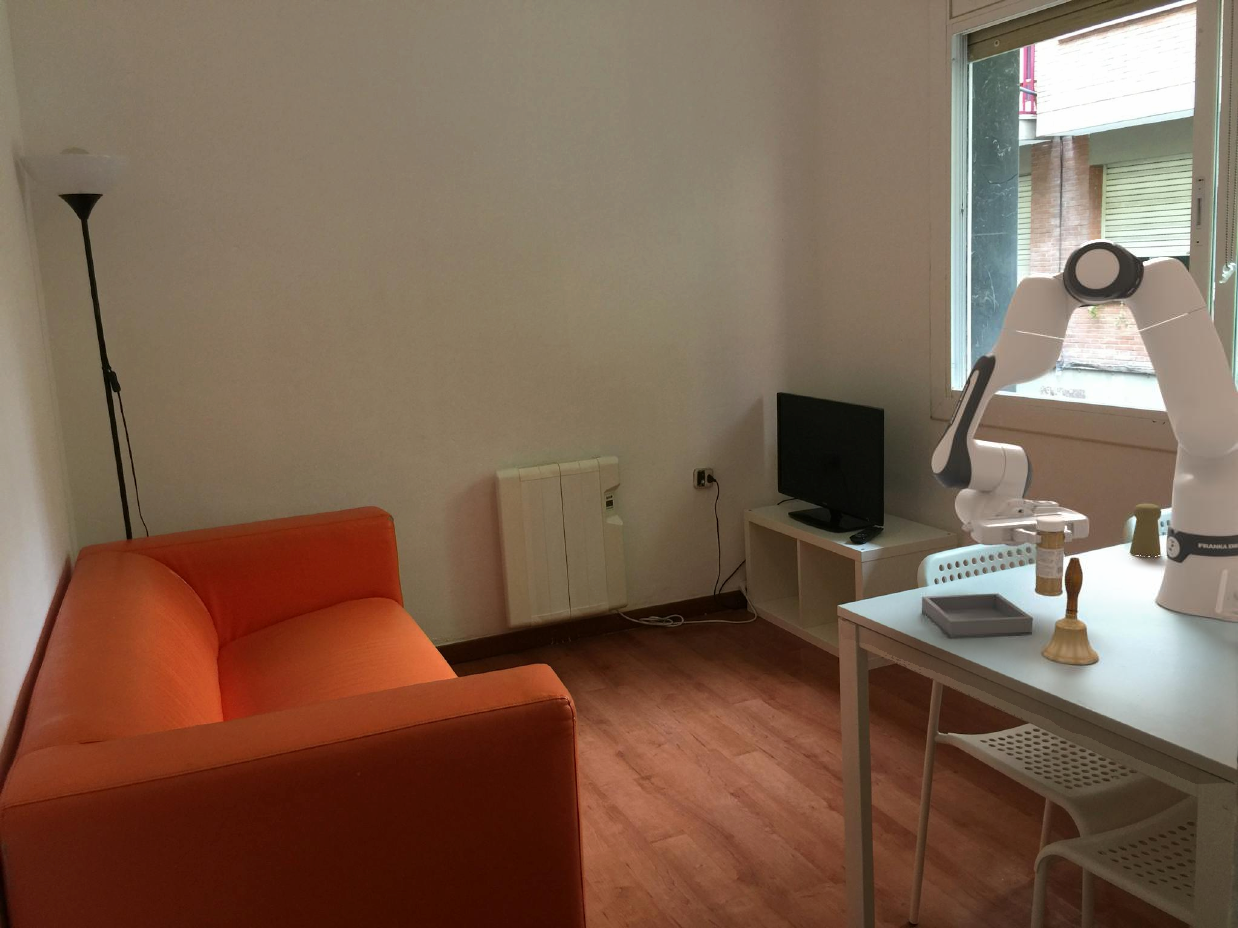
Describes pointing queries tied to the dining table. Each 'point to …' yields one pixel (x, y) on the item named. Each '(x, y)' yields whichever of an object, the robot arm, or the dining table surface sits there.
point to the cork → (1146, 531)
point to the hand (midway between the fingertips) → (1053, 538)
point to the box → (976, 616)
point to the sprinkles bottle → (1050, 555)
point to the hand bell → (1071, 626)
